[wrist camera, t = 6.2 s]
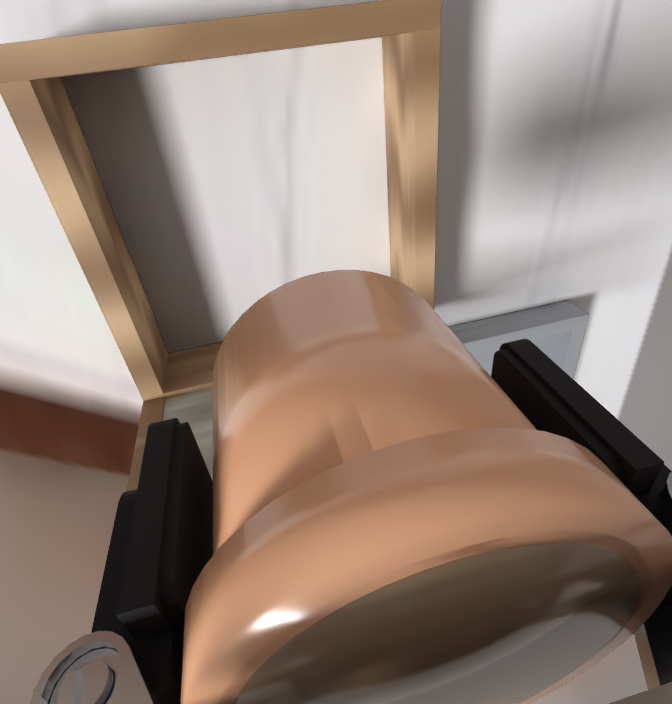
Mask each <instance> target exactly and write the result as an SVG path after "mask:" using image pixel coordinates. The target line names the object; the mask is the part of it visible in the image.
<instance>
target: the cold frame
mask: <svg viewBox="0 0 672 704" xmlns="http://www.w3.org/2000/svg"><path fill="white" fill-rule="evenodd" d="M440 31H441V0H383V1H374V2H366V3H357V4H348V5H339V6H330V7H322V8H313V9H304V10H295V11H287V12H278V13H269V14H260V15H251V16H243V17H234V18H225V19H216V20H207V21H199V22H190V23H181V24H172V25H164V26H155V27H146V28H137V29H128V30H120V31H111V32H102V33H93V34H84V35H76V36H67V37H58V38H49V39H41V40H32V41H23V42H14V43H5V44H0V94H1V96H2V98H3V100H4V102H5V104H6V106H7V109H8V111H9V113H10V115H11V117H12V119H13V121H14V124H15V126H16V128H17V130H18V132H19V134H20V137H21V139H22V141H23V143H24V145H25V147H26V149H27V152H28V154H29V156H30V158H31V160H32V162H33V164H34V167H35V169H36V171H37V173H38V175H39V177H40V179H41V182H42V184H43V186H44V188H45V190H46V192H47V195H48V197H49V199H50V201H51V203H52V205H53V207H54V210H55V212H56V214H57V216H58V218H59V220H60V222H61V225H62V227H63V229H64V231H65V233H66V235H67V238H68V240H69V242H70V244H71V246H72V248H73V250H74V253H75V255H76V257H77V259H78V261H79V263H80V265H81V268H82V270H83V272H84V274H85V276H86V278H87V281H88V283H89V285H90V287H91V289H92V291H93V293H94V296H95V298H96V300H97V302H98V304H99V306H100V308H101V311H102V313H103V315H104V317H105V319H106V321H107V323H108V326H109V328H110V330H111V332H112V334H113V336H114V339H115V341H116V343H117V345H118V347H119V349H120V351H121V354H122V356H123V358H124V360H125V362H126V364H127V366H128V369H129V371H130V373H131V375H132V377H133V379H134V382H135V384H136V386H137V388H138V390H139V392H140V394H141V397H142V399H143V401H144V402H143V407H142V412H141V417H140V422H139V428H138V433H137V438H136V443H135V449H134V454H133V459H132V464H131V470H130V475H129V480H128V485H127V491H131V490H135V489H137V488H138V482H139V476H140V471H141V465H142V459H143V453H144V448H145V442H146V436H147V430H148V426H149V425H150V424H151V423H155V422H159V421H164V420H168V419H173V418H177V419H178V420H179V422H180V423H185V422H188V423H189V425H190V427H191V430H192V432H193V435H194V437H195V439H196V442H197V444H198V447H199V449H200V452H201V454H202V456H203V459H204V461H205V464H206V466H207V469H208V471H209V473H210V476H211V478H212V481H213V398H212V381H213V371H214V365H215V361H216V358H217V354H218V352H219V349H220V347H221V345H222V343H223V342H219V343H215V344H210V345H205V346H201V347H196V348H192V349H187V350H182V351H178V352H173V353H168V351H167V348H166V346H165V343H164V340H163V338H162V335H161V333H160V330H159V328H158V325H157V323H156V320H155V317H154V315H153V312H152V310H151V307H150V305H149V302H148V300H147V297H146V294H145V292H144V289H143V287H142V284H141V282H140V279H139V277H138V274H137V271H136V269H135V266H134V264H133V261H132V259H131V256H130V254H129V251H128V248H127V246H126V243H125V241H124V238H123V236H122V233H121V231H120V228H119V225H118V223H117V220H116V218H115V215H114V213H113V210H112V208H111V205H110V202H109V200H108V197H107V195H106V192H105V190H104V187H103V185H102V182H101V179H100V177H99V174H98V172H97V169H96V167H95V164H94V162H93V159H92V156H91V154H90V151H89V149H88V146H87V144H86V141H85V139H84V136H83V133H82V131H81V128H80V126H79V123H78V121H77V118H76V116H75V113H74V110H73V108H72V105H71V103H70V100H69V98H68V95H67V93H66V90H65V87H64V85H63V82H62V80H61V77H67V76H75V75H83V74H91V73H99V72H107V71H115V70H123V69H131V68H139V67H147V66H155V65H163V64H170V63H178V62H186V61H194V60H202V59H210V58H218V57H226V56H234V55H242V54H250V53H258V52H266V51H274V50H282V49H290V48H298V47H306V46H314V45H321V44H329V43H337V42H345V41H353V40H361V39H369V38H377V37H382V46H383V73H384V100H385V127H386V154H387V181H388V208H389V235H390V262H391V278H393V279H395V280H397V281H400V282H402V283H403V284H405V285H407V286H408V287H410V288H412V289H413V290H414V291H416V292H417V293H418V294H419V295H420V296H421V297H422V298H424V299H425V301H426V302H427V303H428V304H429V305H430V306H431V308H432V309H433V310H434V279H435V238H436V196H437V155H438V114H439V72H440ZM127 491H126V492H127Z"/></svg>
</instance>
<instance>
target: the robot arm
mask: <svg viewBox="0 0 672 704" xmlns="http://www.w3.org/2000/svg"><path fill="white" fill-rule="evenodd" d="M491 377H492V378H493V379H494V381H495V382H496V383H497V384H498V385H499V386H500V388H501V389H502V390H503V391H504V392H505V393H506V394H507V396H508V397H509V398H510V399H511V400H512V401H513V403H514V404H515V405H516V406H517V407H518V408H519V410H520V411H521V412H522V413H523V414H524V415H525V417H526V418H527V419H528V420H529V421H530V422H531V423H532V425H533V426H534V427H535V428H536V429H537V430H539V431H545V432H549V433H552V434H555V435H559V436H562V437H565V438H568V439H570V440H572V441H574V442H576V443H578V444H580V445H582V446H584V447H586V448H587V449H588V450H589V451H591V452H592V453H593V454H594V455H595V456H596V457H598V458H599V459H600V460H601V461H602V462H603V463H604V464H605V465H606V466H607V467H608V469H609V470H610V471H611V472H612V473H613V474H614V475H615V476H616V477H617V478H618V479H619V480H620V481H621V482H622V483H623V484H624V485H625V486H626V487H627V488H628V489H629V490H630V492H631V493H632V494H633V495H634V496H635V497H636V498H637V499H638V500H639V501H640V502H641V503H642V504H643V505H644V506H645V507H646V508H647V509H648V510H649V511H650V512H651V514H652V515H653V516H654V517H655V518H656V519H657V520H658V521H659V522H660V523H661V524H662V525H663V526H664V527H665V528H666V529H667V530H668V531H669V533H670V534H671V536H672V471H671V470H670V469H668V468H667V467H666V466H665V465H664V461H663V460H661V459H660V458H659V457H658V456H657V455H656V454H655V453H654V452H652V450H650V449H649V448H648V447H647V446H646V445H645V444H644V443H643V442H642V441H641V440H639V439H638V438H637V437H636V436H635V435H634V434H633V433H632V432H631V431H629V430H628V429H627V428H626V427H625V426H624V425H623V424H622V423H621V422H620V421H618V420H617V419H616V418H615V417H614V416H613V415H612V414H611V413H610V412H609V411H607V410H606V409H605V408H604V407H603V406H602V405H601V404H600V403H599V402H598V401H596V400H595V399H594V398H593V397H592V396H591V395H590V394H589V393H588V392H586V391H585V390H584V389H583V388H582V387H581V386H580V385H579V384H578V383H577V382H575V381H574V380H573V379H572V378H571V377H570V376H569V375H568V374H567V373H566V372H564V371H563V370H562V369H561V368H560V367H559V366H558V365H557V364H556V363H554V362H553V361H552V360H551V359H550V358H549V357H548V356H547V355H546V354H545V353H543V352H542V351H541V350H540V349H539V348H538V347H537V346H536V345H535V344H534V343H532V342H531V341H530V340H528V339H520V340H516V341H511V342H507V343H503V344H502V345H501V346H500V349H499V351H496V352H495V353H494V358H493V365H492V373H491ZM212 556H213V481H212V478H211V476H210V473H209V471H208V469H207V466H206V464H205V461H204V459H203V456H202V454H201V452H200V449H199V447H198V444H197V442H196V439H195V437H194V435H193V432H192V430H191V427H190V425H189V423H188V422H185V423H180V422H179V420H178V419H177V418H173V419H168V420H164V421H159V422H155V423H151V424H150V425H149V426H148V430H147V436H146V442H145V448H144V453H143V459H142V465H141V471H140V476H139V482H138V488H137V489H135V490H131V491H127V492H124V493H123V494H122V496H121V497H120V500H119V503H118V508H117V512H116V518H115V522H114V527H113V532H112V536H111V541H110V546H109V551H108V555H107V560H106V566H105V570H104V575H103V579H102V584H101V589H100V594H99V599H98V603H97V608H96V613H95V618H94V623H93V627H92V632H91V633H90V634H86V635H84V636H82V637H80V638H78V639H77V640H75V641H74V642H72V643H70V644H69V645H67V646H66V647H65V648H64V649H63V650H62V651H61V652H60V653H58V654H57V655H56V656H55V657H54V659H53V660H52V661H51V662H50V664H49V665H48V666H47V667H46V669H45V670H44V671H43V673H42V674H41V677H40V678H39V680H38V682H37V684H36V686H35V688H34V690H33V693H32V697H31V701H30V704H180V696H181V675H182V655H183V634H184V619H185V607H186V604H187V601H188V598H189V595H190V592H191V589H192V587H193V585H194V583H195V582H196V580H197V578H198V576H199V575H200V573H201V571H202V569H203V567H204V566H205V565H206V564H207V562H208V561H209V560H210V559H211V557H212ZM634 635H635V639H636V643H637V647H638V651H639V655H640V659H641V663H642V667H643V671H644V675H645V679H646V683H647V687H648V690H647V691H644V692H641V693H638V694H636V695H633V696H630V697H627V698H624V699H621V700H618V701H616V702H613V703H610V704H672V585H671V587H670V589H669V590H668V592H667V594H666V596H665V597H664V599H663V601H662V602H661V603H660V604H659V606H658V607H657V608H656V610H655V611H654V612H653V614H652V615H651V616H650V617H649V618H648V619H647V620H646V621H645V622H644V623H643V624H642V626H641V627H640V628H639V629H638V630H637V631H636V632H635V633H634Z"/></svg>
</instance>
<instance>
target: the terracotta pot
mask: <svg viewBox="0 0 672 704" xmlns="http://www.w3.org/2000/svg"><path fill="white" fill-rule="evenodd" d="M212 398H213V556H212V557H211V559H210V560H209V561H208V562H207V564H206V565H205V566H204V567H203V569H202V571H201V573H200V575H199V576H198V578H197V580H196V582H195V583H194V585H193V587H192V589H191V592H190V595H189V598H188V601H187V604H186V607H185V619H184V634H183V655H182V675H181V696H180V704H532V703H534V702H535V701H537V700H539V699H541V698H543V697H545V696H547V695H548V694H550V693H551V692H553V691H555V690H557V689H558V688H560V687H562V686H563V685H565V684H567V683H568V682H570V681H571V680H573V679H574V678H576V677H578V676H579V675H580V674H582V673H584V672H585V671H587V670H588V669H590V668H591V667H592V666H594V665H595V664H597V663H598V662H599V661H601V660H602V659H604V658H605V657H606V656H608V655H609V654H610V653H611V652H613V651H614V650H615V649H616V648H618V647H619V646H620V645H621V644H622V643H624V642H625V641H626V640H627V639H628V638H629V637H630V636H631V635H632V634H633V633H635V632H636V631H637V630H638V629H639V628H640V627H641V626H642V624H643V623H644V622H645V621H646V620H647V619H648V618H649V617H650V616H651V615H652V614H653V612H654V611H655V610H656V608H657V607H658V606H659V604H660V603H661V602H662V601H663V599H664V597H665V596H666V594H667V592H668V590H669V589H670V587H671V585H672V536H671V534H670V533H669V531H668V530H667V529H666V528H665V527H664V526H663V525H662V524H661V523H660V522H659V521H658V520H657V519H656V518H655V517H654V516H653V515H652V514H651V512H650V511H649V510H648V509H647V508H646V507H645V506H644V505H643V504H642V503H641V502H640V501H639V500H638V499H637V498H636V497H635V496H634V495H633V494H632V493H631V492H630V490H629V489H628V488H627V487H626V486H625V485H624V484H623V483H622V482H621V481H620V480H619V479H618V478H617V477H616V476H615V475H614V474H613V473H612V472H611V471H610V470H609V469H608V467H607V466H606V465H605V464H604V463H603V462H602V461H601V460H600V459H599V458H598V457H596V456H595V455H594V454H593V453H592V452H591V451H589V450H588V449H587V448H586V447H584V446H582V445H580V444H578V443H576V442H574V441H572V440H570V439H568V438H565V437H562V436H559V435H555V434H552V433H549V432H545V431H539V430H537V429H536V428H535V427H534V426H533V425H532V423H531V422H530V421H529V420H528V419H527V418H526V417H525V415H524V414H523V413H522V412H521V411H520V410H519V408H518V407H517V406H516V405H515V404H514V403H513V401H512V400H511V399H510V398H509V397H508V396H507V394H506V393H505V392H504V391H503V390H502V389H501V388H500V386H499V385H498V384H497V383H496V382H495V381H494V379H493V378H492V377H491V376H490V375H489V374H488V372H487V371H486V370H485V369H484V368H483V367H482V366H481V364H480V363H479V362H478V361H477V360H476V359H475V357H474V356H473V355H472V354H471V353H470V352H469V350H468V349H467V348H466V347H465V346H464V345H463V344H462V342H461V341H460V340H459V339H458V338H457V337H456V335H455V334H454V333H453V332H452V331H451V330H450V328H449V327H448V326H447V325H446V324H445V323H444V322H443V320H442V319H441V318H440V317H439V316H438V315H437V313H436V312H435V311H434V310H433V309H432V308H431V306H430V305H429V304H428V303H427V302H426V301H425V299H424V298H422V297H421V296H420V295H419V294H418V293H417V292H416V291H414V290H413V289H412V288H410V287H408V286H407V285H405V284H403V283H402V282H400V281H397V280H395V279H393V278H390V277H388V276H385V275H381V274H377V273H373V272H367V271H359V270H336V271H328V272H321V273H317V274H313V275H309V276H305V277H302V278H299V279H297V280H294V281H291V282H289V283H286V284H284V285H283V286H281V287H279V288H277V289H275V290H273V291H271V292H270V293H268V294H267V295H265V296H264V297H262V298H261V299H260V300H258V301H257V302H255V303H254V304H253V305H252V306H251V307H250V308H249V309H248V310H247V311H246V312H244V313H243V314H242V315H241V317H240V318H239V319H238V320H237V321H236V323H235V324H234V325H233V326H232V328H231V329H230V331H229V332H228V334H227V336H226V337H225V339H224V340H223V343H222V345H221V347H220V349H219V352H218V354H217V358H216V361H215V365H214V371H213V381H212Z"/></svg>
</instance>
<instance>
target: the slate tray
mask: <svg viewBox="0 0 672 704" xmlns="http://www.w3.org/2000/svg"><path fill="white" fill-rule="evenodd" d="M588 318H589V314H588V313H587V312H585V311H584V310H582V309H581V308H579V307H578V306H576V305H575V304H573V303H572V302H570V301H569V300H566V301H561V302H557V303H553V304H548V305H544V306H539V307H535V308H531V309H526V310H522V311H517V312H513V313H508V314H504V315H500V316H495V317H491V318H486V319H482V320H478V321H473V322H469V323H464V324H460V325H456V326H451V327H449V328H450V330H451V331H452V332H453V333H454V334H455V335H456V337H457V338H458V339H459V340H460V341H461V342H462V344H463V345H464V346H465V347H466V348H467V349H468V350H469V352H470V353H471V354H472V355H473V356H474V357H475V359H476V360H477V361H478V362H479V363H480V364H481V366H482V367H483V368H484V369H485V370H486V371H487V372H488V374H489V375H490V376H491V373H492V365H493V358H494V353H495V352H496V351H499V349H500V346H501V345H502V344H503V343H507V342H511V341H516V340H520V339H528V340H530V341H531V342H532V343H534V344H535V345H536V346H537V347H538V348H539V349H540V350H541V351H542V352H543V353H545V354H546V355H547V356H548V357H549V358H550V359H551V360H552V361H553V362H554V363H556V364H557V365H558V366H559V367H560V368H561V369H562V370H563V371H564V372H566V373H567V374H568V375H569V376H570V377H571V378H572V379H573V377H574V373H575V369H576V365H577V361H578V357H579V353H580V349H581V346H582V342H583V338H584V334H585V330H586V326H587V322H588Z"/></svg>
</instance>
